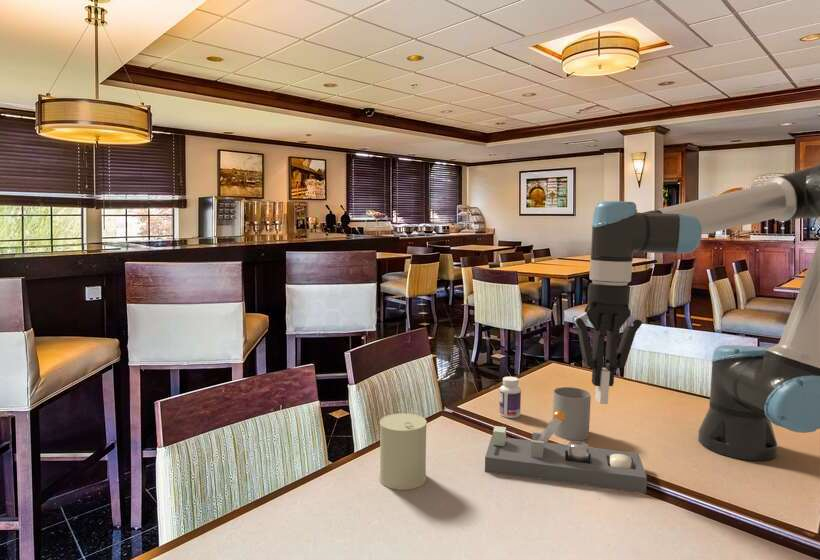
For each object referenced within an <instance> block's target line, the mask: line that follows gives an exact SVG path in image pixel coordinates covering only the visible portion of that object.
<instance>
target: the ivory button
mask: <svg viewBox="0 0 820 560" xmlns="http://www.w3.org/2000/svg"><path fill="white" fill-rule="evenodd" d="M631 465H632V459H631V458H630V457H628V456H626V455H623V454H612V455H610V466H612V467H620V468H628V469H631Z"/></svg>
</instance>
